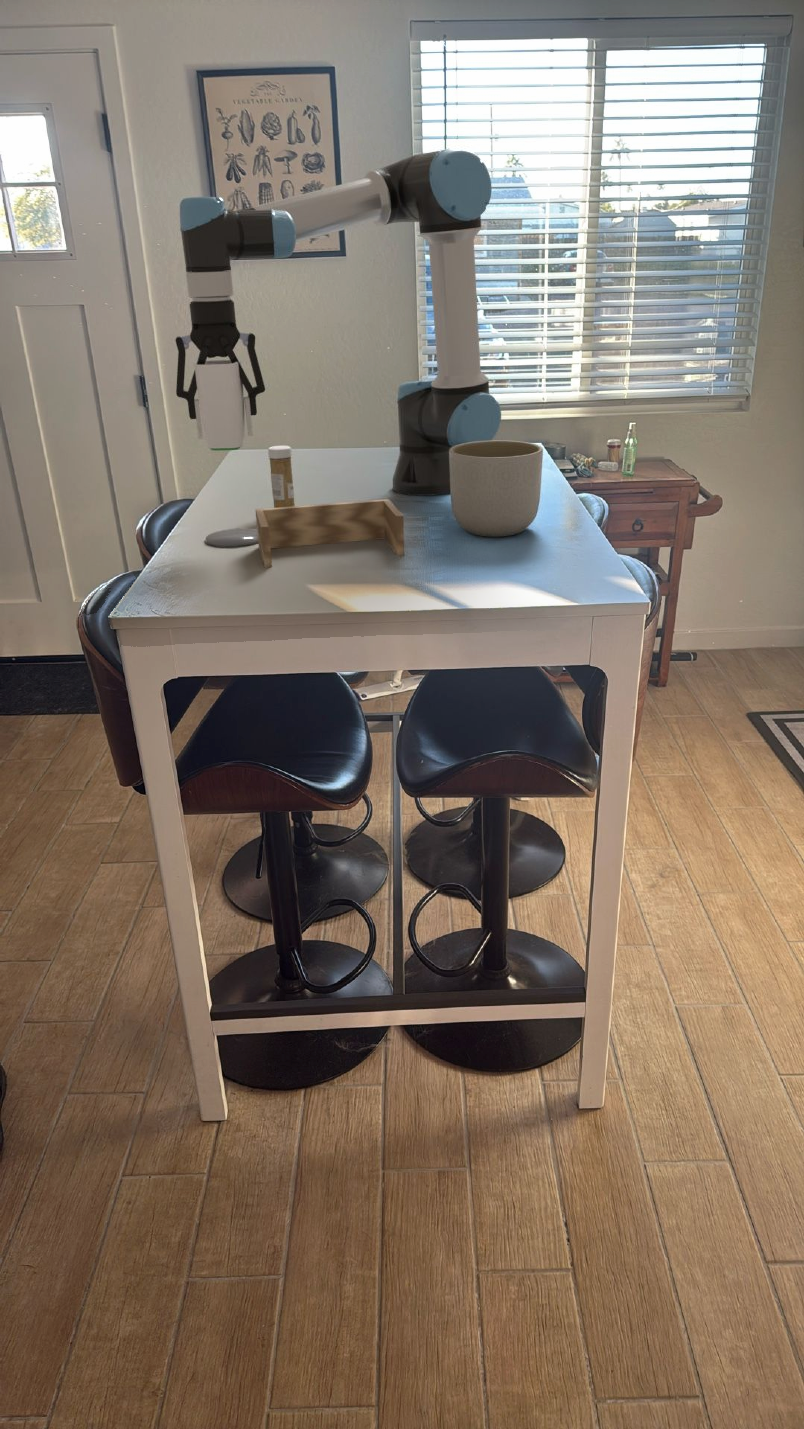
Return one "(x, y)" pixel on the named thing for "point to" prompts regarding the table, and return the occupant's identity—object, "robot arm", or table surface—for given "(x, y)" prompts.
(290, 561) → the table surface
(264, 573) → the table surface
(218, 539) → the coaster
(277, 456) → the sprinkles bottle
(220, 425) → the cup
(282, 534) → the wooden stand
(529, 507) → the planter
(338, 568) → the table surface
